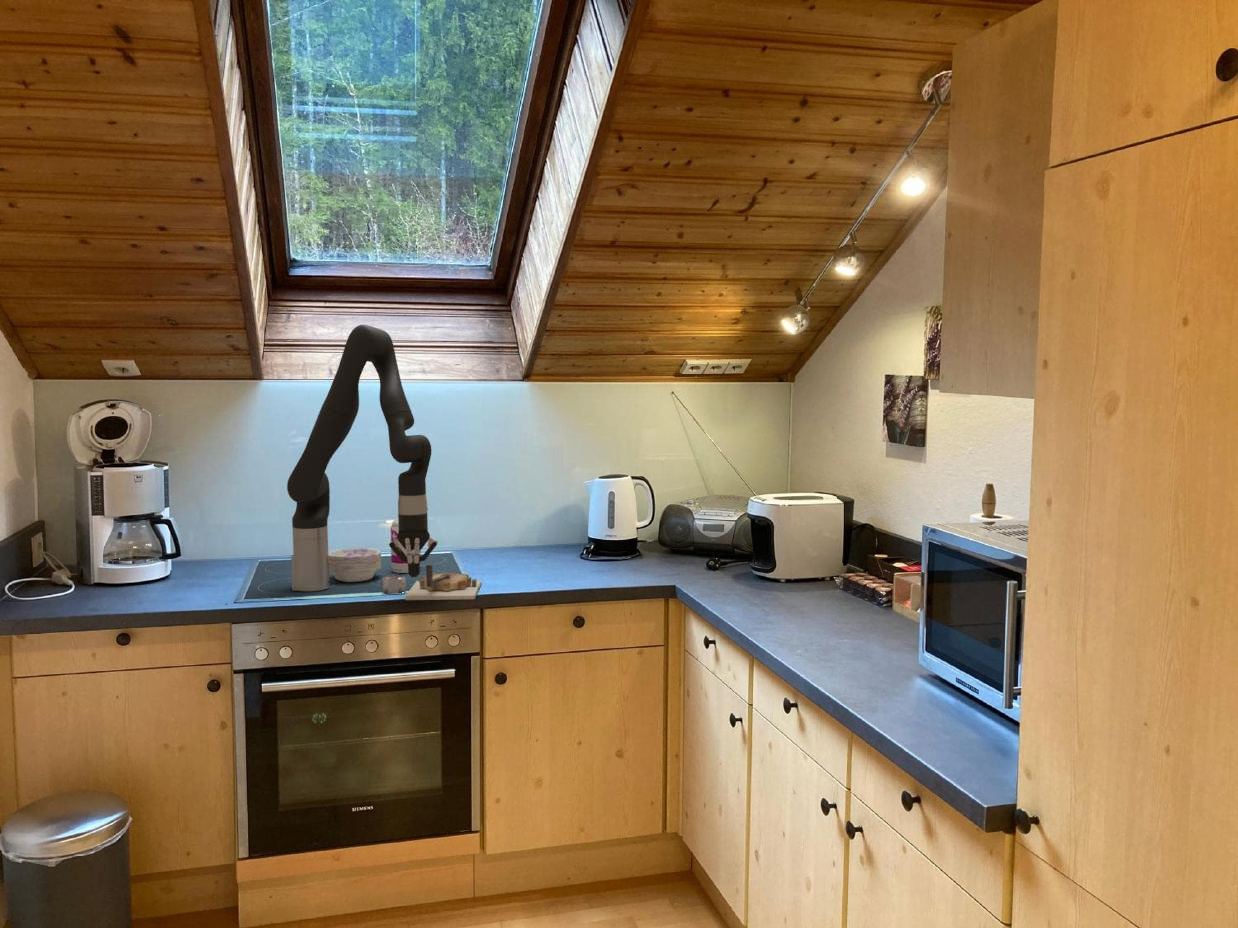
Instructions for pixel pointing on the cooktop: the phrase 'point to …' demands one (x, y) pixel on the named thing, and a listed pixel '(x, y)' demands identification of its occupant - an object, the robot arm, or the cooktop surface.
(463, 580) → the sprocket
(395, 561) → the supplement can
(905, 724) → the cooktop surface
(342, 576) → the paper bowls
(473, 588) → the plate
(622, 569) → the cooktop surface
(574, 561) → the cooktop surface
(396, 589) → the link
